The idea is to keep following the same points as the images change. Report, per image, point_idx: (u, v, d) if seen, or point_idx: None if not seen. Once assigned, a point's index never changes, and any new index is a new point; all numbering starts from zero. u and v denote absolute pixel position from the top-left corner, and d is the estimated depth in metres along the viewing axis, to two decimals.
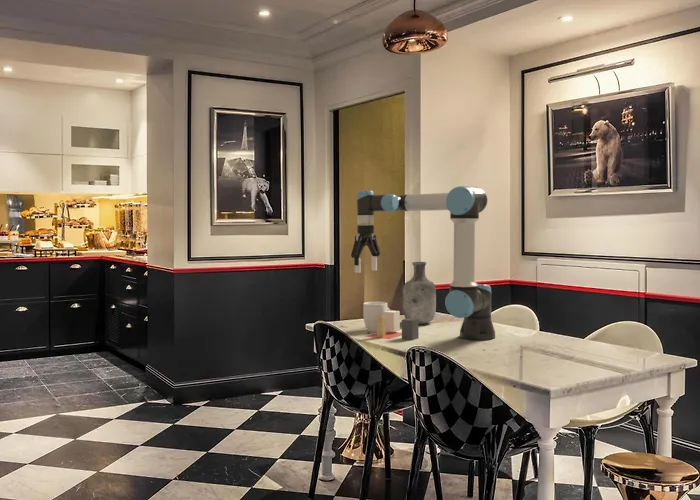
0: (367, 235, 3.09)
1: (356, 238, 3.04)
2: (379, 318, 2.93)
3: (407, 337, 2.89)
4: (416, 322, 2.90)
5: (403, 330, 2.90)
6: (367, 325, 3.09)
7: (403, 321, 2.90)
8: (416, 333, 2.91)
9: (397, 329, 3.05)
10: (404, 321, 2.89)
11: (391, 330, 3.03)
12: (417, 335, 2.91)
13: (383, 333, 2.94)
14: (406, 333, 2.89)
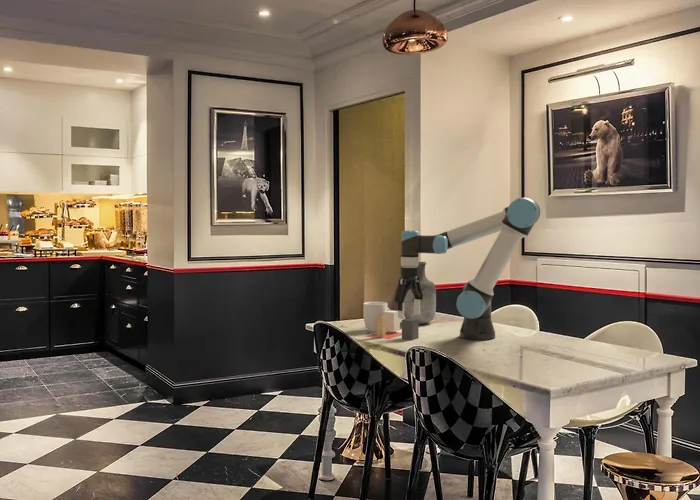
0: (411, 278, 2.89)
1: (400, 282, 2.85)
2: (379, 318, 2.93)
3: (407, 337, 2.89)
4: (416, 322, 2.90)
5: (403, 330, 2.90)
6: (367, 325, 3.09)
7: (403, 321, 2.90)
8: (416, 333, 2.91)
9: (397, 329, 3.05)
10: (404, 321, 2.89)
11: (391, 330, 3.03)
12: (417, 335, 2.91)
13: (383, 333, 2.94)
14: (406, 333, 2.89)
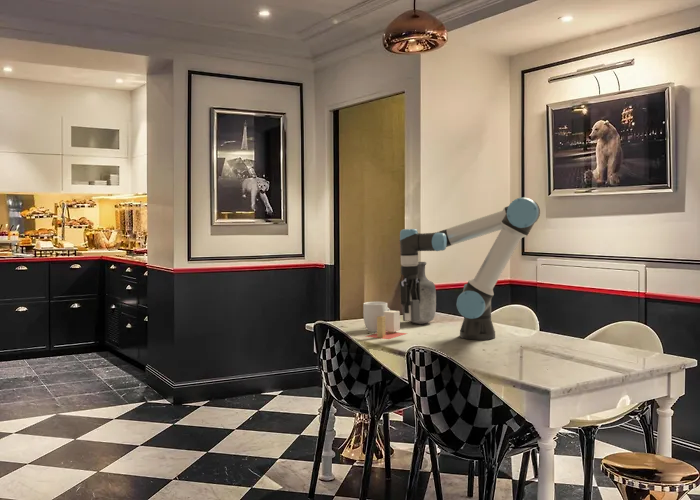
0: (412, 276, 2.89)
1: (401, 284, 2.85)
2: (379, 318, 2.93)
3: None
4: (417, 303, 2.90)
5: (404, 311, 2.89)
6: (367, 325, 3.09)
7: None
8: (417, 313, 2.90)
9: (397, 329, 3.05)
10: None
11: (391, 330, 3.03)
12: (418, 316, 2.90)
13: (383, 333, 2.94)
14: None
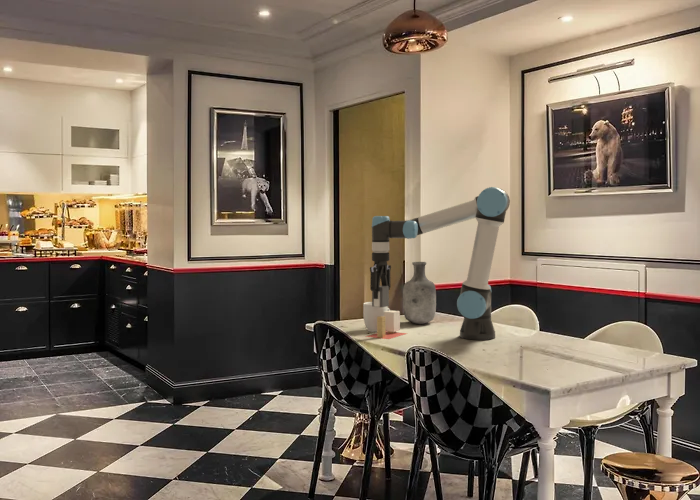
0: (382, 263, 2.92)
1: (371, 270, 2.88)
2: (379, 318, 2.93)
3: None
4: (386, 289, 2.93)
5: (373, 297, 2.93)
6: (367, 325, 3.09)
7: None
8: (386, 299, 2.93)
9: (397, 329, 3.05)
10: None
11: (391, 330, 3.03)
12: (387, 302, 2.94)
13: (383, 333, 2.94)
14: None
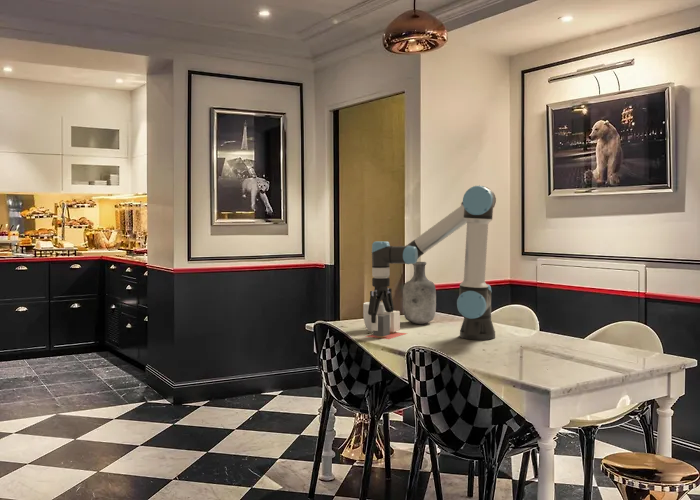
0: (382, 288, 2.93)
1: (371, 294, 2.88)
2: None
3: (378, 333, 2.93)
4: (387, 318, 2.94)
5: None
6: (367, 325, 3.09)
7: None
8: (387, 328, 2.94)
9: (397, 329, 3.05)
10: None
11: (391, 330, 3.03)
12: (388, 331, 2.95)
13: None
14: None
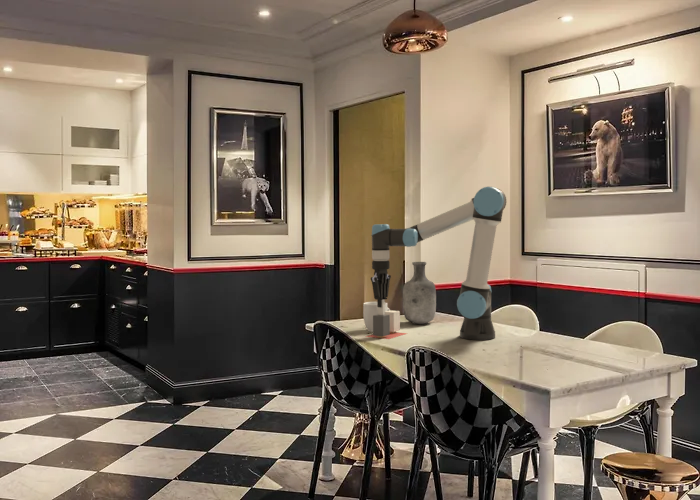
0: (382, 271, 2.93)
1: (372, 280, 2.89)
2: None
3: (378, 333, 2.93)
4: (387, 318, 2.94)
5: (374, 326, 2.94)
6: (367, 325, 3.09)
7: (374, 317, 2.93)
8: (387, 328, 2.94)
9: (397, 329, 3.05)
10: (375, 317, 2.93)
11: (391, 330, 3.03)
12: (388, 331, 2.95)
13: None
14: (377, 329, 2.93)
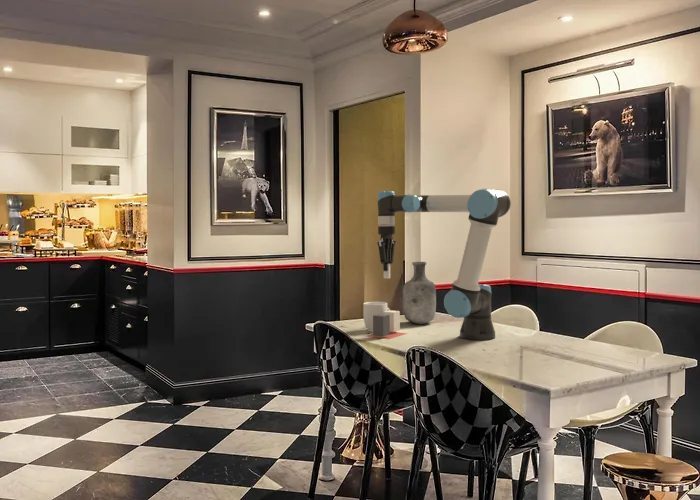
0: (388, 236, 3.04)
1: (379, 244, 3.01)
2: None
3: (378, 333, 2.93)
4: (387, 318, 2.94)
5: (374, 326, 2.94)
6: (367, 325, 3.09)
7: (374, 317, 2.93)
8: (387, 328, 2.94)
9: (397, 329, 3.05)
10: (375, 317, 2.93)
11: (391, 330, 3.03)
12: (388, 331, 2.95)
13: None
14: (377, 329, 2.93)
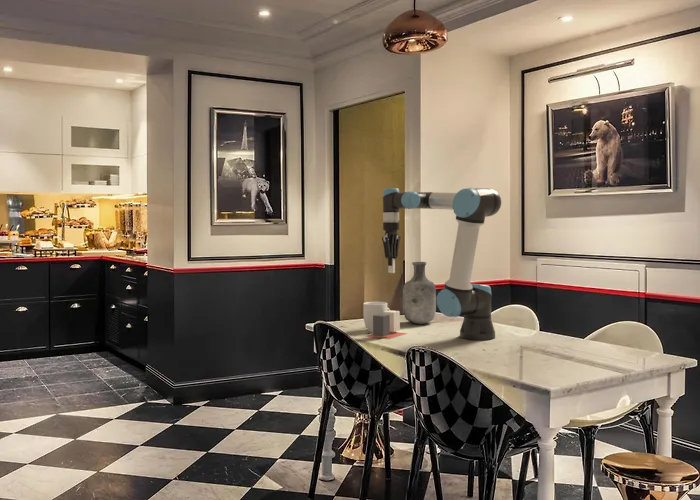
0: (393, 232, 3.14)
1: (383, 240, 3.11)
2: None
3: (378, 333, 2.93)
4: (387, 318, 2.94)
5: (374, 326, 2.94)
6: (367, 325, 3.09)
7: (374, 317, 2.93)
8: (387, 328, 2.94)
9: (397, 329, 3.05)
10: (375, 317, 2.93)
11: (391, 330, 3.03)
12: (388, 331, 2.95)
13: None
14: (377, 329, 2.93)
